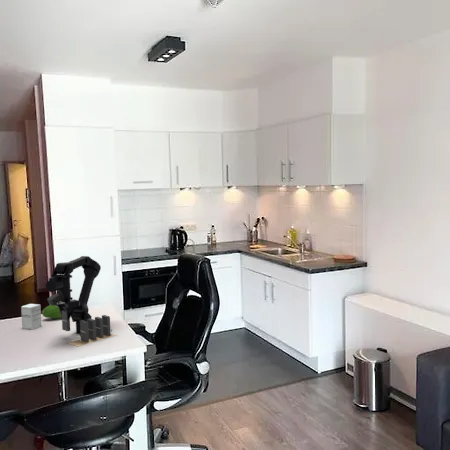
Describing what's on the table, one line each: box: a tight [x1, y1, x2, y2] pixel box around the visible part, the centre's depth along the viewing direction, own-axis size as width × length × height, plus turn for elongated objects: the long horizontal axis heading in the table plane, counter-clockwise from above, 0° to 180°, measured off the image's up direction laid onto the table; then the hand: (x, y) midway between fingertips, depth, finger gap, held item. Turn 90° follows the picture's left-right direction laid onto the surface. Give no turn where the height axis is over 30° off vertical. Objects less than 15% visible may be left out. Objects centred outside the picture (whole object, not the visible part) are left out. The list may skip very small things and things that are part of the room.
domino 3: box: [87, 318, 96, 340], centre depth 234 cm, size 2×5×10 cm, turn 47°
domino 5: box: [101, 314, 112, 336], centre depth 240 cm, size 2×5×10 cm, turn 47°
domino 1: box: [61, 310, 71, 332], centre depth 234 cm, size 2×5×10 cm, turn 47°
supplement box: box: [20, 303, 42, 330], centre depth 259 cm, size 7×7×13 cm
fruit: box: [41, 305, 62, 320], centre depth 276 cm, size 15×10×10 cm, turn 120°
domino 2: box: [79, 320, 89, 343], centre depth 231 cm, size 2×5×10 cm, turn 47°
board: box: [68, 333, 117, 348], centre depth 235 cm, size 22×9×1 cm, turn 137°
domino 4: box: [94, 316, 104, 338], centre depth 237 cm, size 2×5×10 cm, turn 47°
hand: (65, 318), depth 234 cm, fingers closed on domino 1, 5 cm apart
